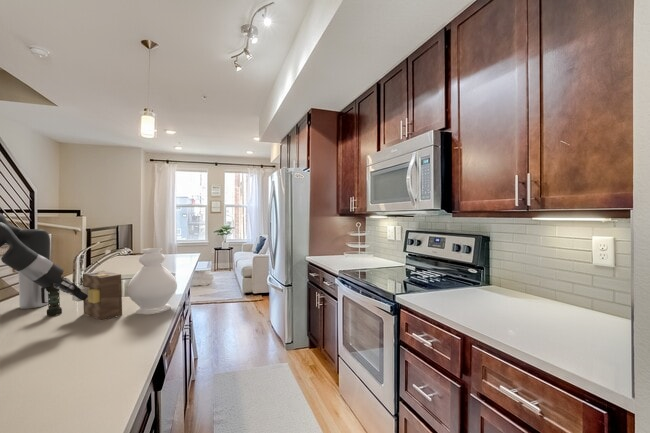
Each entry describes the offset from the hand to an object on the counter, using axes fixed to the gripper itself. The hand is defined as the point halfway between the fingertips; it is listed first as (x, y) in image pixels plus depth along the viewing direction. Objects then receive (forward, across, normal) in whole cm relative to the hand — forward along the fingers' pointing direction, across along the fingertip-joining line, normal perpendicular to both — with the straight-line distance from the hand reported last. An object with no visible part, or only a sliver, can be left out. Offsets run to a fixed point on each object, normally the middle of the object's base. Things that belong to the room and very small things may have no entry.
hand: (85, 298), depth 114 cm
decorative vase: (+21, +7, +8) cm, 24 cm away
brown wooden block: (+11, -4, -1) cm, 12 cm away
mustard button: (+5, 0, +2) cm, 5 cm away
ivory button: (+3, -8, 0) cm, 9 cm away
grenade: (+4, -22, -9) cm, 24 cm away
